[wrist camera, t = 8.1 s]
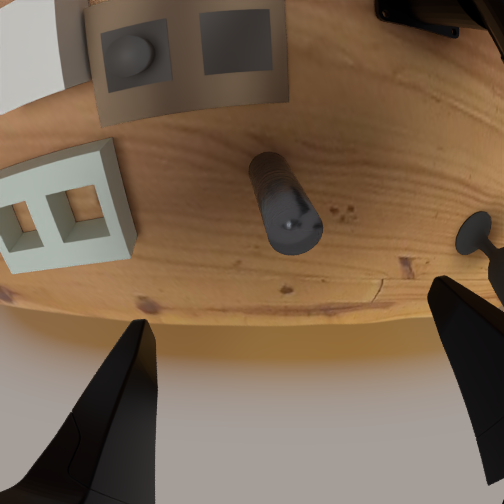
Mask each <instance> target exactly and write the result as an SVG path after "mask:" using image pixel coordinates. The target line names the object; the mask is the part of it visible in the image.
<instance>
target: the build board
mask: <svg viewBox="0 0 504 504" xmlns="http://www.w3.org/2000/svg"><path fill="white" fill-rule="evenodd" d="M93 184H94V185H95V189H96V192H97V195H98V199H99V202H100V205H101V208H102V212H103V215H104V217H103V218H98V219H92V220H86V221H81V222H76V221H75V219H74V216H73V213H72V210H71V207H70V204H69V202H68V199H67V196H66V193H65V191H66V190H70V189H75V188H79V187H84V186H88V185H93ZM22 201H26V204H27V206H28V209H29V212H30V214H31V217H32V219H33V222H34V224H35V226H36V229H37V230H35V231H30V232H25V233H23V231H22V229H21V227H20V225H19V222H18V220H17V217H16V215H15V212H14V210H13V207H12V205H11V204H15V203H19V202H22ZM136 239H137V233H136V229H135V226H134V223H133V219H132V216H131V212H130V208H129V205H128V201H127V197H126V193H125V190H124V186H123V182H122V178H121V174H120V170H119V165H118V161H117V157H116V152H115V148H114V143H113V139H112V137H111V138H107V139H103V140H98V141H94V142H90V143H86V144H82V145H78V146H75V147H71V148H67V149H64V150H60V151H57V152H53V153H50V154H47V155H43V156H40V157H37V158H34V159H31V160H28V161H25V162H22V163H19V164H16V165H13V166H10V167H7V168H5V169H2V170H0V252H1V254H2V256H3V258H4V260H5V262H6V264H7V265H8V267H9V269H10V271H11V273H12V274H17V273H24V272H32V271H39V270H46V269H54V268H61V267H69V266H77V265H84V264H92V263H100V262H107V261H115V260H123V259H131V256H132V253H133V249H134V246H135V242H136Z"/></svg>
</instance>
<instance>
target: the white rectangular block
mask: <svg viewBox="0 0 504 504" xmlns="http://www.w3.org/2000/svg"><path fill="white" fill-rule="evenodd" d="M86 7H89V3H88V0H15V1H13V2H11V3H10V4H8V5H6V6H4V7H3V8H1V9H0V115H2V114H4V113H6V112H9V111H11V110H13V109H15V108H18V107H20V106H22V105H25V104H27V103H30V102H32V101H35V100H37V99H40V98H42V97H45V96H48V95H50V94H53V93H56V92H59V91H62V90H65V89H67V88H70V87H73V86H76V85H78V84H81V83H84V82H87V81H90V80H92V75H91V68H90V61H89V54H88V46H87V37H86V28H85V17H84V8H86Z"/></svg>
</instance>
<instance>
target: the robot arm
mask: <svg viewBox="0 0 504 504" xmlns="http://www.w3.org/2000/svg"><path fill="white" fill-rule="evenodd" d="M375 10H376V16H377V17H378V19H380V20H381V21H385V22H390V23H395V24H399V25H404V26H408V27H413V28H417V29H421V30H425V31H428V32H432V33H435V34H439V35H442V36H446V37H449V38H455V39H456V38H458V36H459V27H463V28H472V29H479V30H486V31H488V32H489V34H490V35H491V37H492V39H493V41H494V43H495V44H496V46H497V48H498V50H499V52H500V54H501V59H502V61H503V63H504V0H375ZM383 11H385V12H386V14H387V15H386V17H384V16H383V13H382V12H383ZM451 30H453V34H452V32H451ZM427 300H428V304H429V307H430V309H431V312H432V315H433V318H434V321H435V324H436V327H437V330H438V333H439V336H440V339H441V342H442V344H443V347H444V349H445V352H446V354H447V356H448V359H449V361H450V364H451V366H452V369H453V372H454V374H455V377H456V379H457V382H458V385H459V388H460V390H461V393H462V396H463V399H464V402H465V405H466V408H467V411H468V414H469V417H470V420H471V423H472V427H473V430H474V433H475V437H476V441H477V444H478V448H479V452H480V456H481V459H482V464H483V468H484V472H485V476H486V481H487V484H488V485H491V484H493V483H495V482H497V481H499V480H501V479H503V478H504V312H503V311H501V310H500V309H498V308H497V307H495V306H494V305H492V304H491V303H489V302H488V301H486V300H485V299H483V298H482V297H480V296H478V295H477V294H475V293H474V292H472V291H471V290H469V289H467V288H466V287H464V286H463V285H461V284H459V283H458V282H456V281H454V280H453V279H451V278H449V277H448V276H445V275H443V276H438V277H435V278H434V280H433V282H432V285H431V287H430V290H429V292H428V296H427ZM157 397H158V384H157V362H156V340H155V337H154V334H153V332H152V330H151V328H150V325H149V323H148V321H147V320H146V319H138V320H133V321H132V322H131V323H130V325H129V326H128V327H127V329H126V330H125V332H124V333H123V334H122V336H121V337H120V339H119V340H118V342H117V343H116V345H115V346H114V347H113V349H112V350H111V352H110V353H109V355H108V356H107V358H106V359H105V360H104V362H103V363H102V365H101V366H100V368H99V369H98V371H97V372H96V374H95V375H94V377H93V378H92V380H91V381H90V383H89V384H88V386H87V388H86V389H85V391H84V392H83V394H82V395H81V397H80V398H79V400H78V401H77V403H76V405H75V406H74V408H73V409H72V412H70V414H69V415H68V417H67V418H66V420H65V422H64V423H63V425H62V426H61V428H60V429H59V431H58V433H57V434H56V435H55V437H54V438H53V439H52V441H51V442H50V444H49V445H48V446H47V448H46V449H45V450H44V452H43V453H42V454H41V456H40V457H39V458H38V459H37V461H36V462H35V463H34V465H33V466H32V467H31V469H30V470H29V471H28V473H27V474H26V475H25V476H24V478H23V479H22V480H21V481H20V482H18V483H17V484H16V485H14V486H13V487H11V488H9V489H6V490H4V491H2V492H0V504H155V440H156V415H157ZM502 504H504V500H503V503H502Z"/></svg>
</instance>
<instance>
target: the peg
mask: <svg viewBox="0 0 504 504" xmlns="http://www.w3.org/2000/svg"><path fill="white" fill-rule="evenodd" d="M249 176H250V180H251V183H252V186H253V189H254V193H255V196H256V199H257V203H258V206H259V209H260V212H261V216H262V219H263V222H264V226H265V229H266V233H267V236H268V239H269V242H270V245H271V246H272V247H273V248H274V249H275V250H276V251H277V252H279V253H281V254H284V255H299V254H302V253H305V252H307V251H309V250H310V249H312V248H313V247H314V246H315V245H316V244H317V243H318V242H319V240H320V238H321V236H322V233H323V224H322V221H321V219H320V217H319V215H318V213H317V212H316V210H315V208H314V207H313V205H312V203H311V202H310V200H309V198H308V197H307V195H306V193H305V192H304V190H303V188H302V187H301V185H300V184H299V182H298V180H297V179H296V177H295V176H294V174H293V172H292V171H291V169H290V168H289V166H288V164H287V163H286V161H285V160H284V158H283V157H282V156H280V155H279V154H276V153H273V152H265V153H262V154H260V155H258V156H256V157H255V158H254V159H253V160H252V162H251V164H250V166H249Z"/></svg>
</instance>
